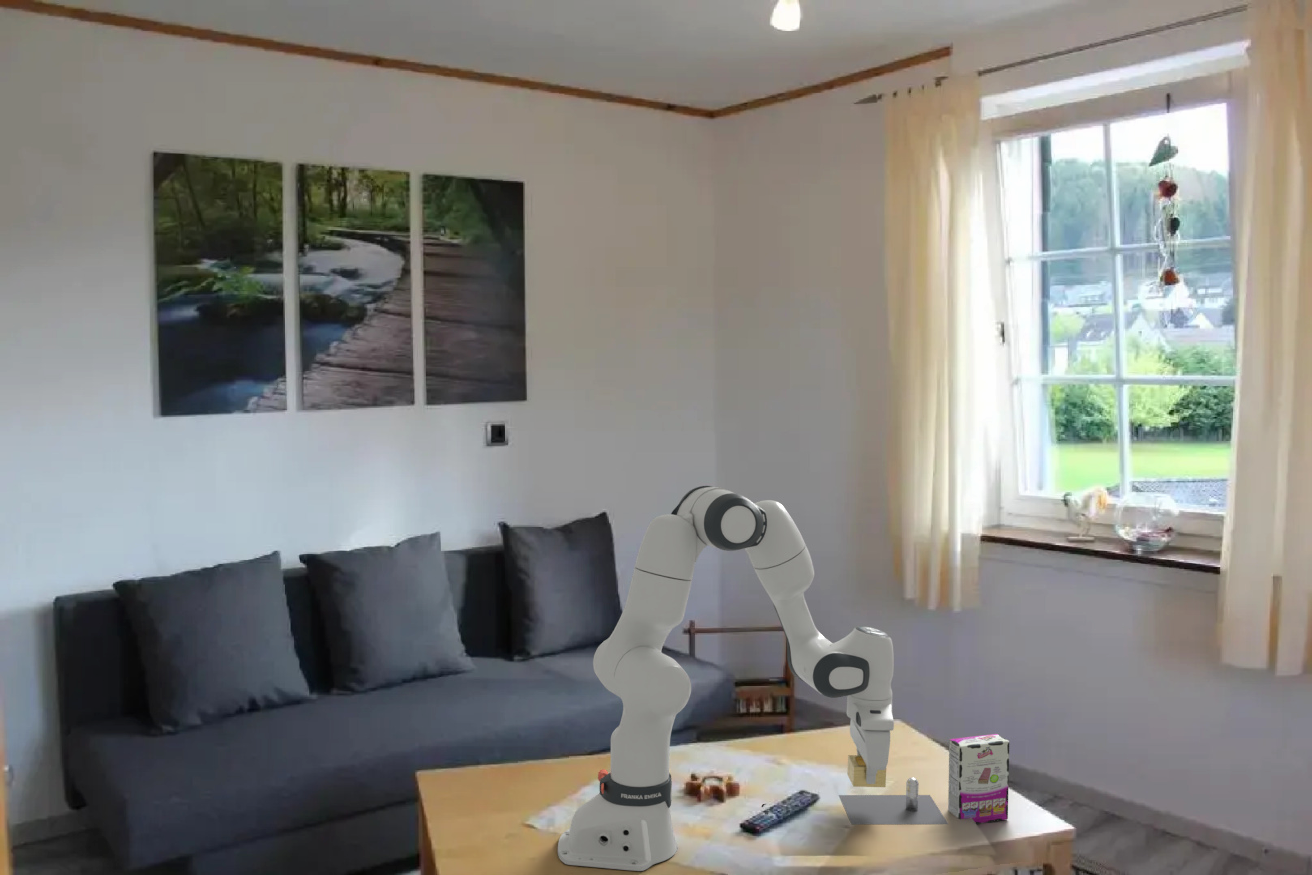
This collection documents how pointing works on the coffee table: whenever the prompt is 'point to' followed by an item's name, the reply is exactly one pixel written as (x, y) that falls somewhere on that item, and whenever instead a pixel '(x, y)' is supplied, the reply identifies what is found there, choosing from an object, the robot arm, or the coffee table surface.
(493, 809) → the coffee table surface
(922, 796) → the slate mat
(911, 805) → the steel post
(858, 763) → the brass collar
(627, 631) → the robot arm
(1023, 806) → the coffee table surface
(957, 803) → the candy bar box
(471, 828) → the coffee table surface
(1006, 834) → the coffee table surface
